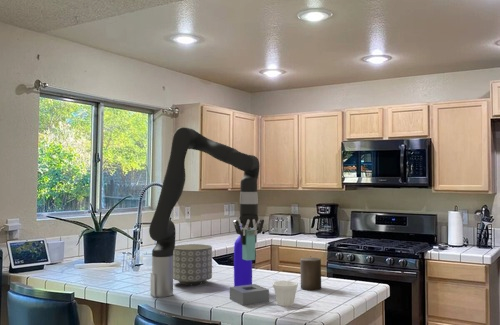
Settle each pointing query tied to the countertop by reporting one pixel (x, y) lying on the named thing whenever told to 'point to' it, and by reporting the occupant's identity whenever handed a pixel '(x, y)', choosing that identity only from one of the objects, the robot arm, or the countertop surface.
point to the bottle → (241, 266)
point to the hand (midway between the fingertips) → (248, 244)
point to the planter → (192, 263)
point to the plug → (249, 246)
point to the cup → (285, 292)
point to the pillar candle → (310, 273)
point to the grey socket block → (249, 294)
